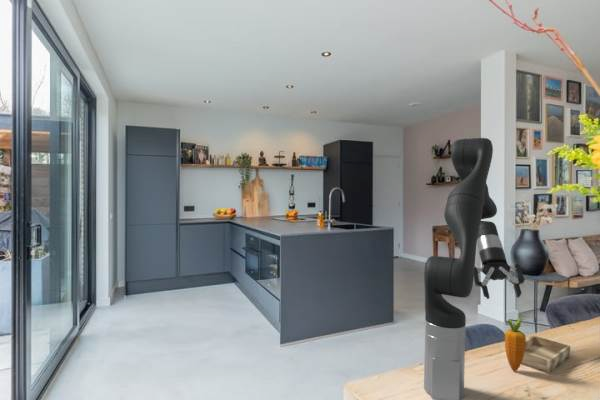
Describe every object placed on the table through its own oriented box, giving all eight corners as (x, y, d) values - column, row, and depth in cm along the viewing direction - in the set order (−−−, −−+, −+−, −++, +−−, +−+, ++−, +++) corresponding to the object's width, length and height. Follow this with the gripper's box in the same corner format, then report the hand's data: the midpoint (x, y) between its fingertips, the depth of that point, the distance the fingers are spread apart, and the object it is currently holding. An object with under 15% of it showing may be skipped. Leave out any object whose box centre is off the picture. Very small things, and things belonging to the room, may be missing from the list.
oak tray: (549, 373, 97) (549, 361, 97) (510, 360, 104) (510, 348, 104) (570, 357, 107) (570, 345, 107) (533, 346, 115) (533, 335, 115)
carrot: (504, 373, 97) (505, 318, 97) (503, 365, 101) (504, 313, 101) (525, 377, 94) (527, 322, 94) (523, 369, 99) (525, 316, 99)
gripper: (468, 248, 119) (479, 295, 110) (515, 243, 114) (530, 292, 106) (468, 257, 125) (478, 302, 116) (513, 253, 120) (527, 299, 111)
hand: (503, 297), depth 111 cm, fingers open, 8 cm apart
